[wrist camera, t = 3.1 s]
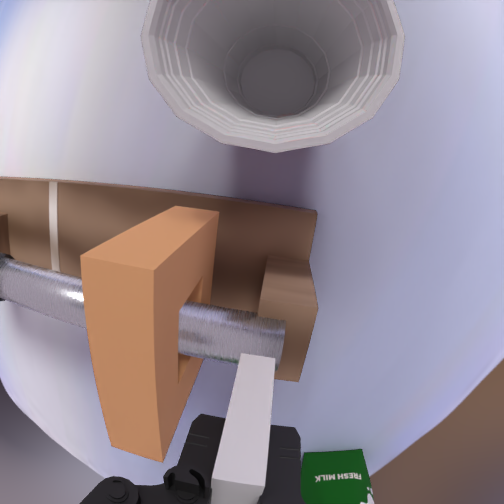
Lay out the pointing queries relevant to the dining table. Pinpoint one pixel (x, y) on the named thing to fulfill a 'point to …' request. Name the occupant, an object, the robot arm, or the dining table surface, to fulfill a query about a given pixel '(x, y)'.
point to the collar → (146, 323)
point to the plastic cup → (273, 66)
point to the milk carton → (335, 478)
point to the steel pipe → (190, 315)
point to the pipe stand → (153, 203)
